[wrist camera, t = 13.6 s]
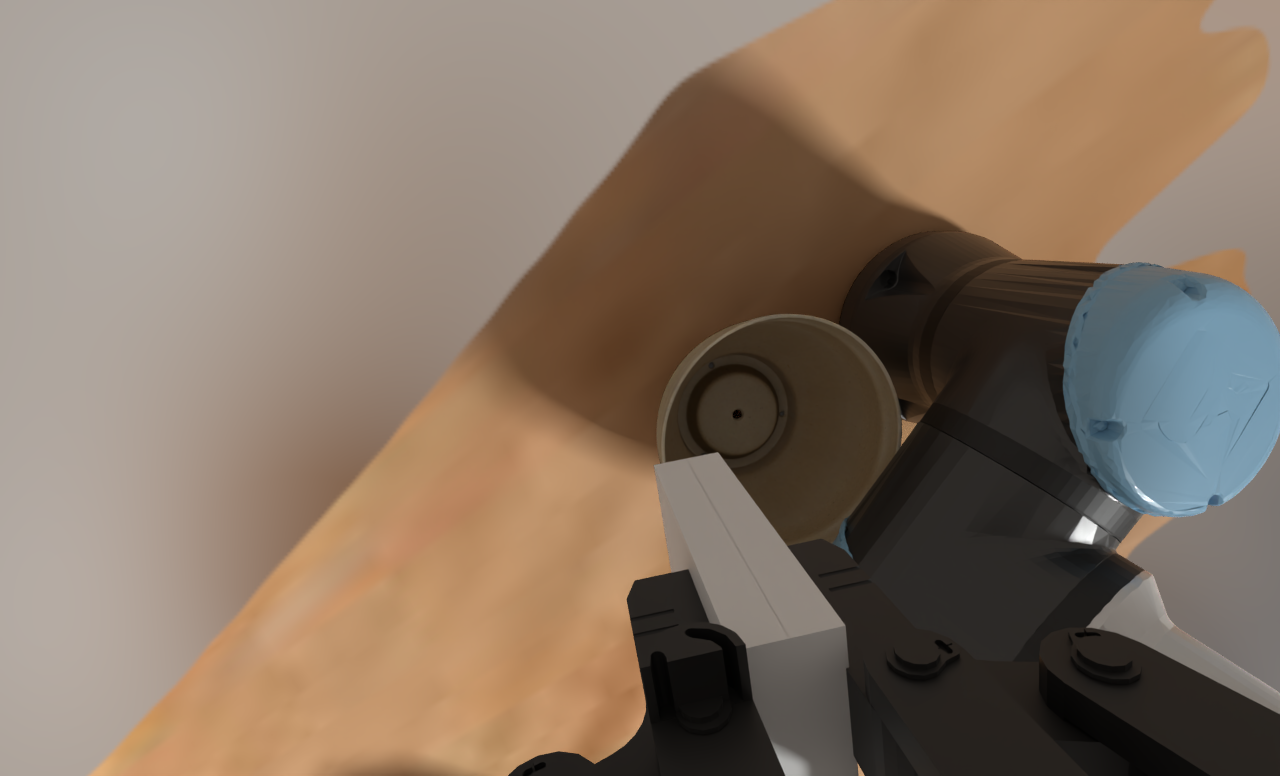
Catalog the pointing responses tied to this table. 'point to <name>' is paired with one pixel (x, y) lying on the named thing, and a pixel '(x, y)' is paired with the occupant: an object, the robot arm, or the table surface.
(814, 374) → the planter bowl
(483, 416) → the table surface
